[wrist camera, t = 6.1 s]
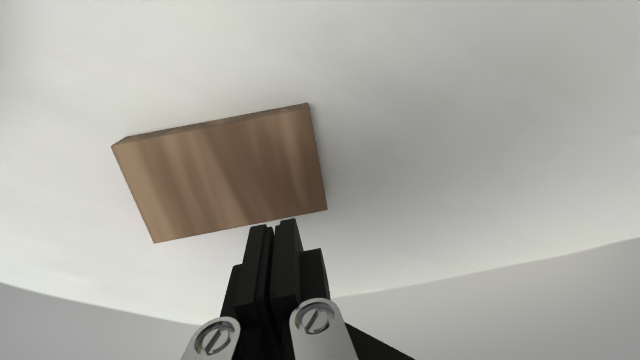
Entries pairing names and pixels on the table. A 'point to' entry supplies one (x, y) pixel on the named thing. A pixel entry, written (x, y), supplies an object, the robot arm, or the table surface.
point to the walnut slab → (224, 172)
